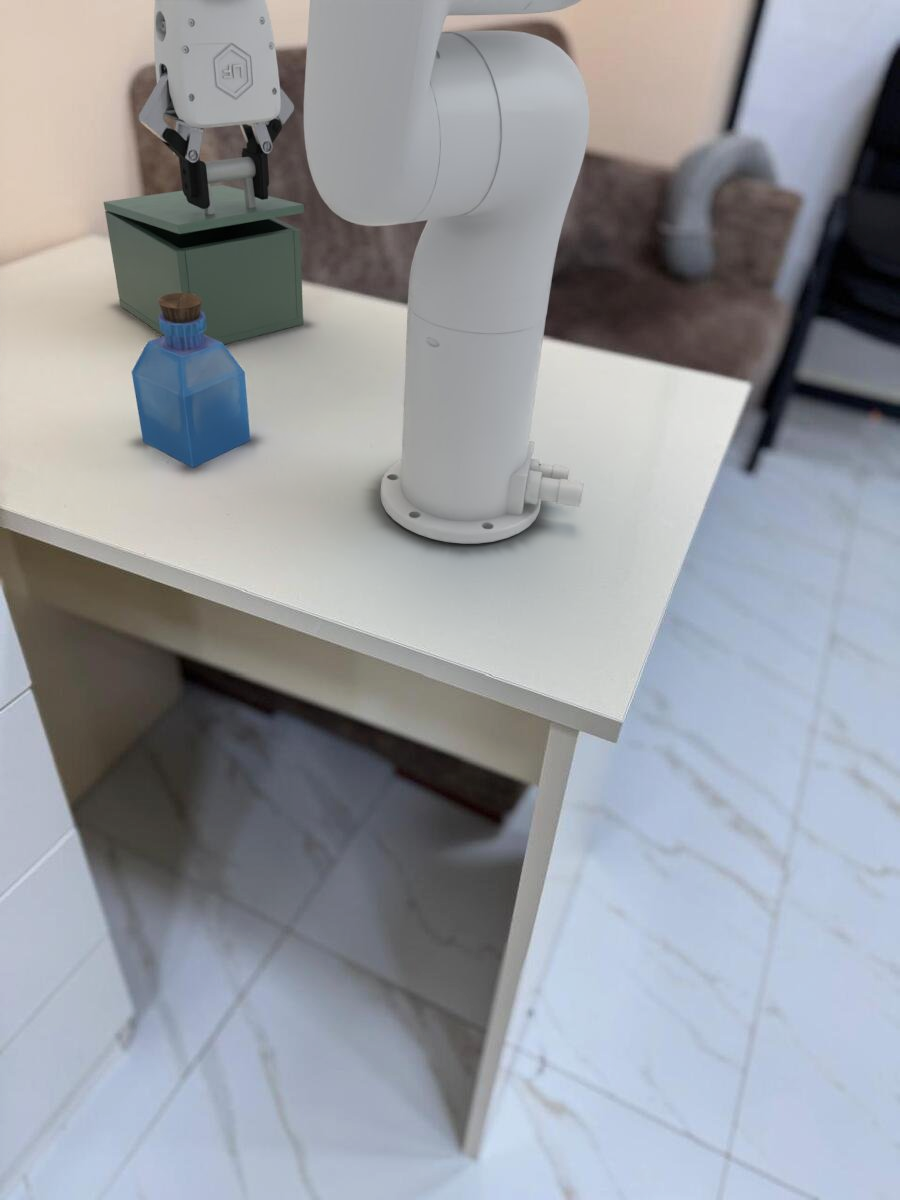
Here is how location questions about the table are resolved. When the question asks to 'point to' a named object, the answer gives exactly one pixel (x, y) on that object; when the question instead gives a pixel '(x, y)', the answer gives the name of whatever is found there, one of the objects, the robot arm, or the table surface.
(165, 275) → the chest
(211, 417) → the perfume bottle
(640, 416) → the table surface
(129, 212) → the lid
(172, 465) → the table surface
